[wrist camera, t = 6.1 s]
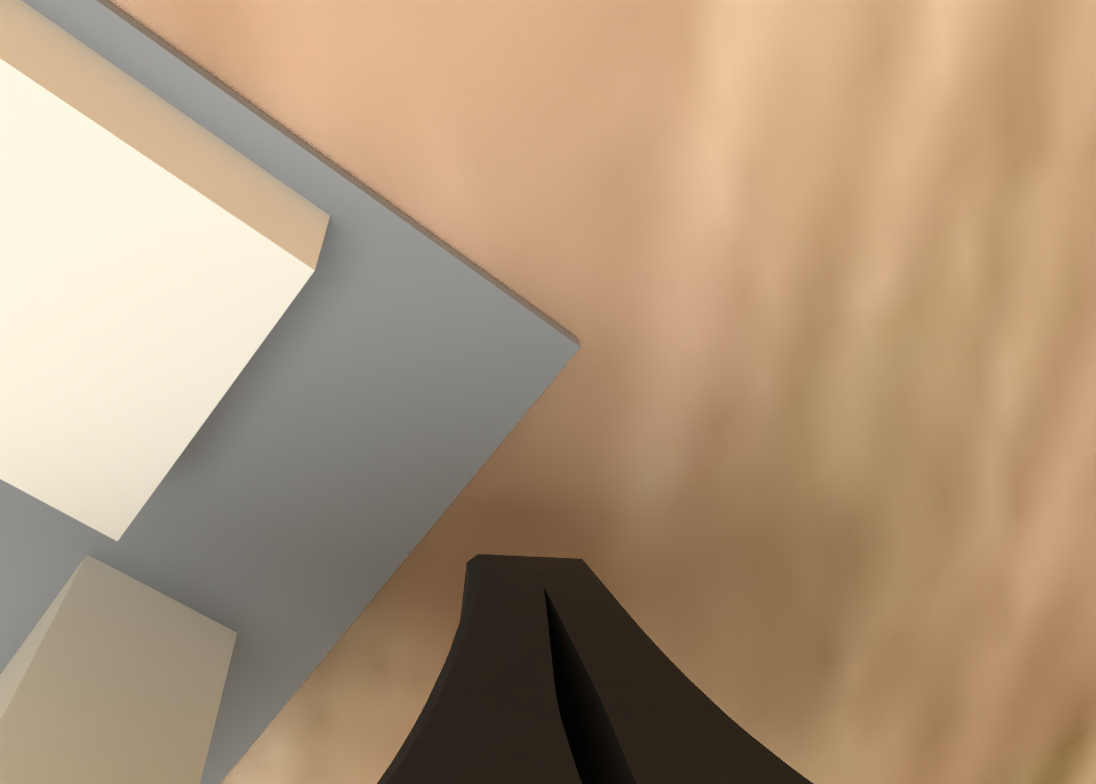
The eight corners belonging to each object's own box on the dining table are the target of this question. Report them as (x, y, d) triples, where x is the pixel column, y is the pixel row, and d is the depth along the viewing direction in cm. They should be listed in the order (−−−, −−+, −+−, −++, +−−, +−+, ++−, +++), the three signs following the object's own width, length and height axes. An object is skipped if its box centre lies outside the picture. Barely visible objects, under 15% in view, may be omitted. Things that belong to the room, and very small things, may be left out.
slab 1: (315, 270, 11) (-161, -50, 9) (117, 541, 12) (-347, 294, 10) (330, 215, 13) (-53, -53, 12) (162, 448, 14) (-215, 232, 13)
